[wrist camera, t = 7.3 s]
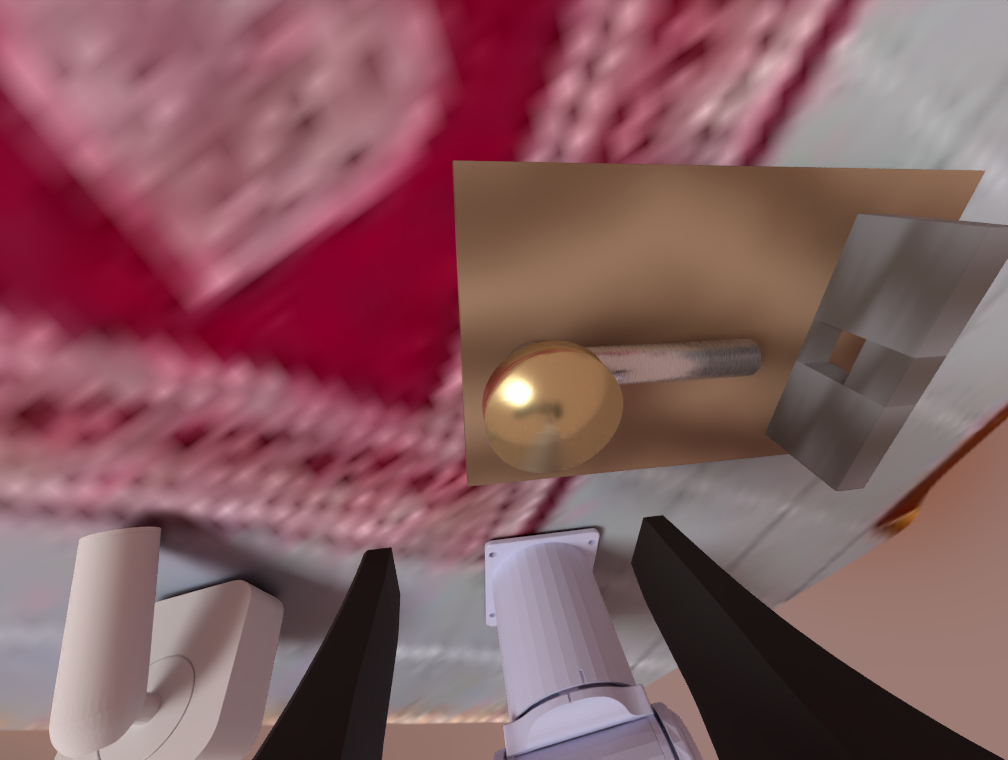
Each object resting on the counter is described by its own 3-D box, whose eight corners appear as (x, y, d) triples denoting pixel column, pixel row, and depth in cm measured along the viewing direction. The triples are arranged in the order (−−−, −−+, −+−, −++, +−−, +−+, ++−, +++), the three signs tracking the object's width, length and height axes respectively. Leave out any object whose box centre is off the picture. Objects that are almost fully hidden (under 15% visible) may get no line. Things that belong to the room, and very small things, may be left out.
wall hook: (183, 490, 20) (56, 759, 12) (294, 564, 27) (255, 762, 19) (26, 532, 19) (-196, 831, 12) (180, 595, 26) (98, 807, 19)
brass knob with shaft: (719, 392, 20) (790, 448, 16) (475, 411, 18) (486, 479, 14) (749, 301, 18) (842, 339, 14) (472, 311, 16) (484, 359, 12)
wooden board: (818, 438, 26) (914, 504, 21) (466, 471, 23) (475, 561, 17) (954, 170, 18) (1158, 170, 13) (452, 161, 15) (460, 156, 10)
